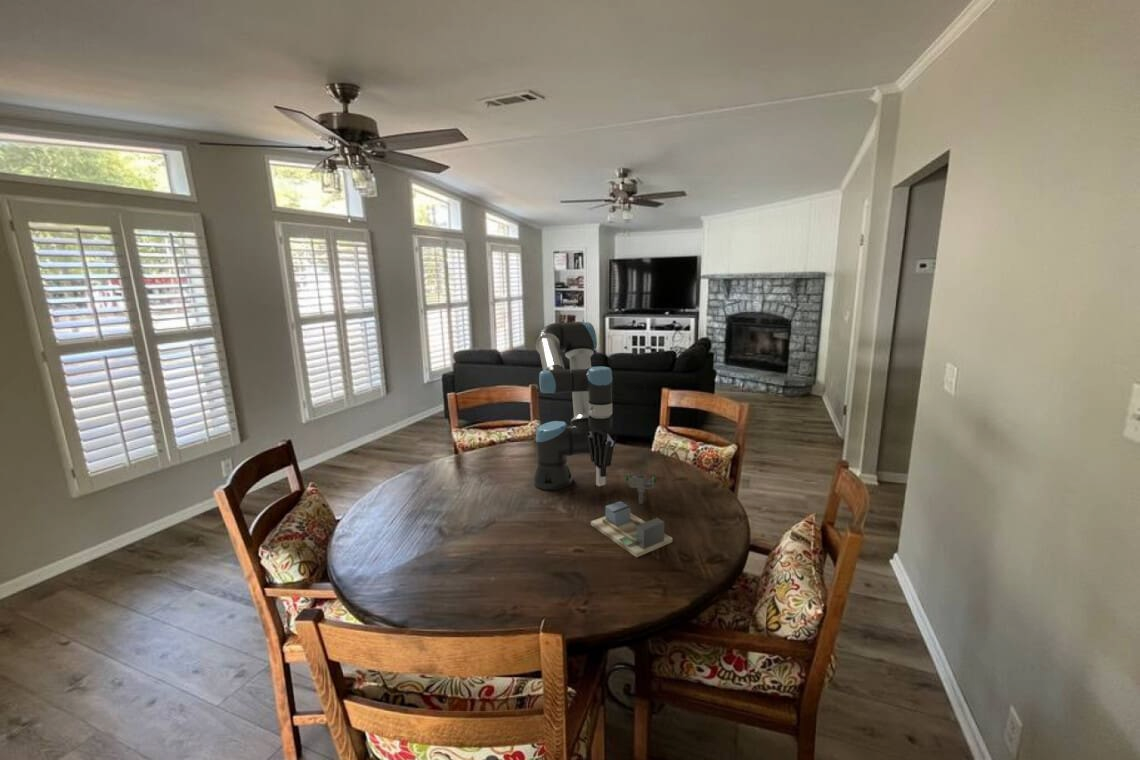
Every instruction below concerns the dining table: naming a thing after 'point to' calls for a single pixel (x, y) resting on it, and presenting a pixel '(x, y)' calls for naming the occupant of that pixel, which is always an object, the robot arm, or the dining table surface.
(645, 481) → the mechanical component
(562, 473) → the robot arm
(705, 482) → the dining table surface
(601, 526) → the board
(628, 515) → the carriage
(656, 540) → the dark grey textured box
